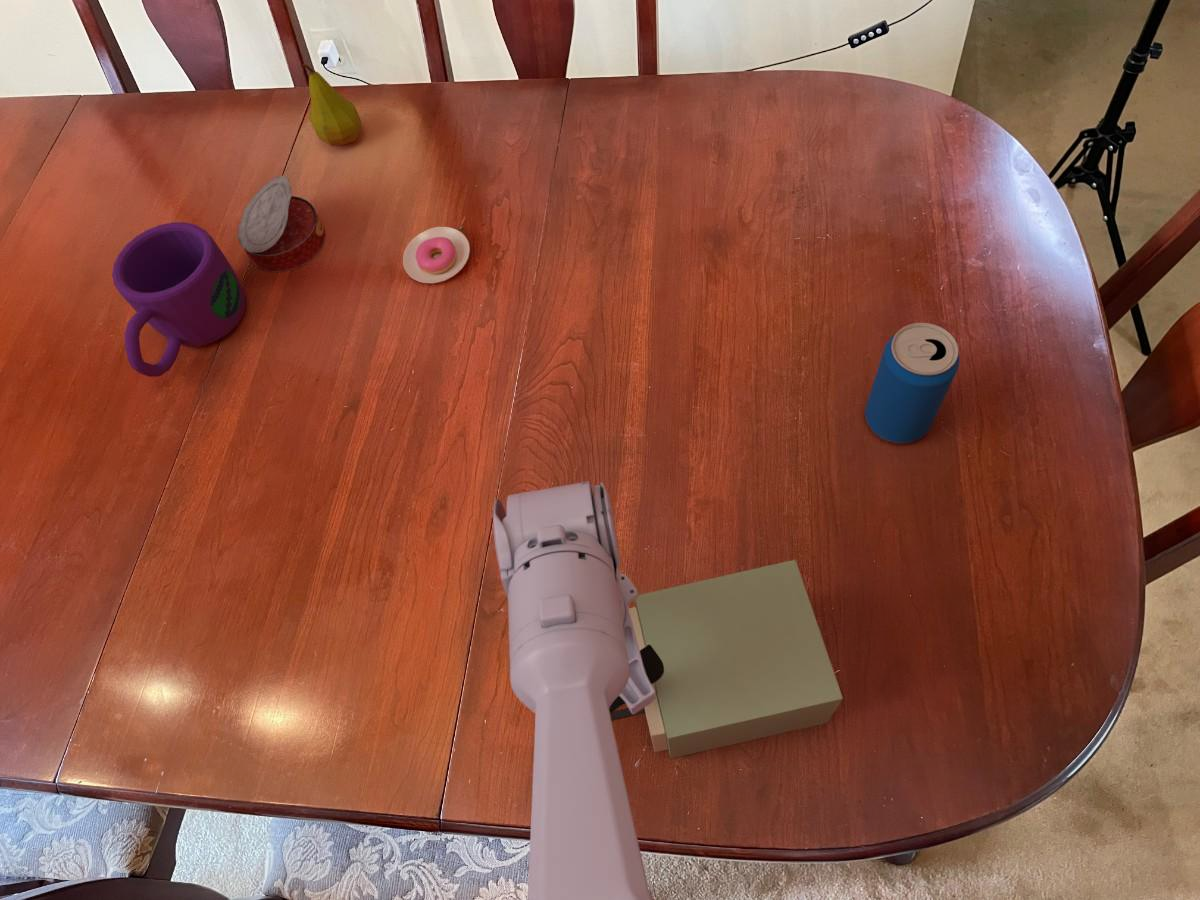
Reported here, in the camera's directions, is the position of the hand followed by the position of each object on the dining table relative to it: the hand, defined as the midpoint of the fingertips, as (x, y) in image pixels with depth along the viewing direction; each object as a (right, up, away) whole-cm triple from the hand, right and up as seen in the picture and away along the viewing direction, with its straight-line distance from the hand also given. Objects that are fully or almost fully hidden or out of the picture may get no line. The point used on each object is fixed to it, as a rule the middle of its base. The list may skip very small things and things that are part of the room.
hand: (597, 649), depth 67 cm
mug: (-47, +29, +33) cm, 64 cm away
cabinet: (+12, -4, +7) cm, 14 cm away
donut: (-19, +40, +36) cm, 57 cm away
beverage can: (+30, +19, +18) cm, 40 cm away
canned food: (-39, +42, +39) cm, 69 cm away
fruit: (-34, +58, +47) cm, 82 cm away
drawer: (+8, -4, +6) cm, 11 cm away
